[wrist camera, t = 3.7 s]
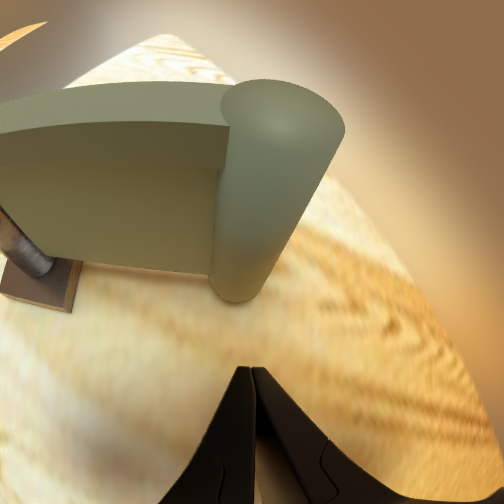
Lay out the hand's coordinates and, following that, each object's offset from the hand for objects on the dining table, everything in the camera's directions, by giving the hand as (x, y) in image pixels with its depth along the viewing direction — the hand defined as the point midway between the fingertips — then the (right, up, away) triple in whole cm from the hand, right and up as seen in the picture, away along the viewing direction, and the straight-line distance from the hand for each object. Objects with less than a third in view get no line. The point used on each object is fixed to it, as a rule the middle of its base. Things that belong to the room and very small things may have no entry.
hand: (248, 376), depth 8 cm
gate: (-5, +3, +7) cm, 9 cm away
